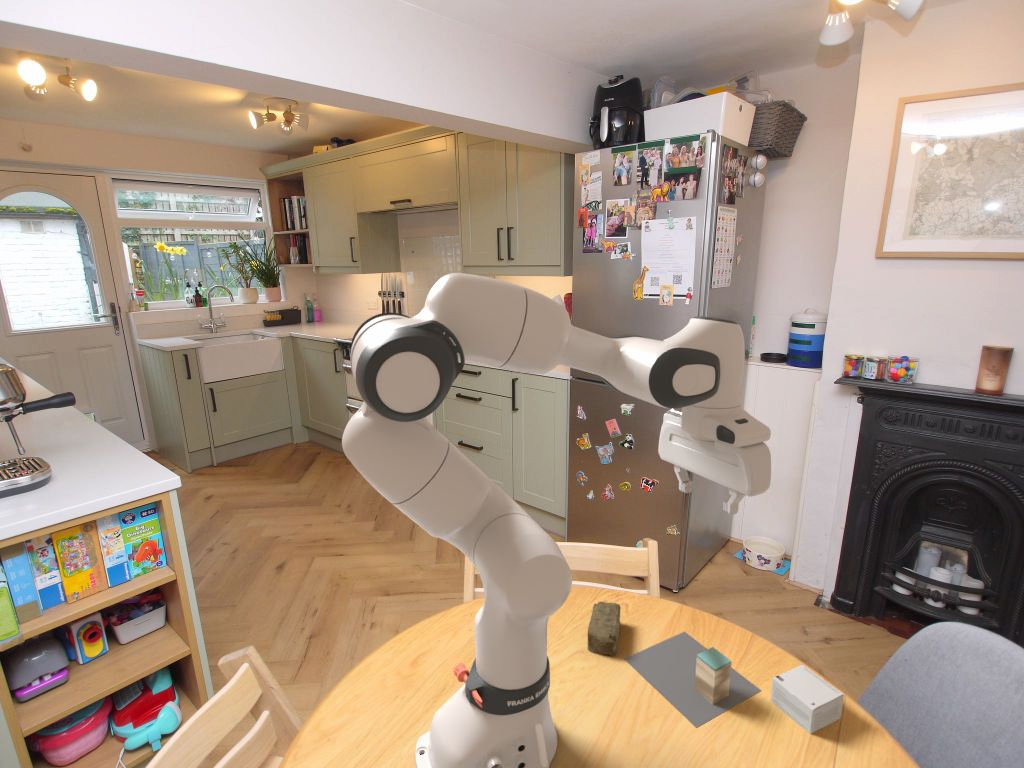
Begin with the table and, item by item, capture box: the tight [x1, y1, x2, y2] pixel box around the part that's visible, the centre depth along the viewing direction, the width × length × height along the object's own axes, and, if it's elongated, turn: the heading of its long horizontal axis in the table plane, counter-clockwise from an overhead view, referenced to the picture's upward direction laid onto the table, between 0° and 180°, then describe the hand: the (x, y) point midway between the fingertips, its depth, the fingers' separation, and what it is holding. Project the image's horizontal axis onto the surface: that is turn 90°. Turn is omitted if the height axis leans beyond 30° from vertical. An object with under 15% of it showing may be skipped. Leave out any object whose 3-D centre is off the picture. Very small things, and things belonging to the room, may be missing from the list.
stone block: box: [587, 601, 621, 657], centre depth 108 cm, size 6×12×5 cm, turn 165°
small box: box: [770, 664, 845, 735], centre depth 89 cm, size 8×8×5 cm
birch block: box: [695, 646, 732, 705], centre depth 92 cm, size 4×4×7 cm
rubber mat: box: [623, 631, 762, 729], centre depth 97 cm, size 16×18×1 cm
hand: (706, 501), depth 86 cm, fingers open, 8 cm apart
